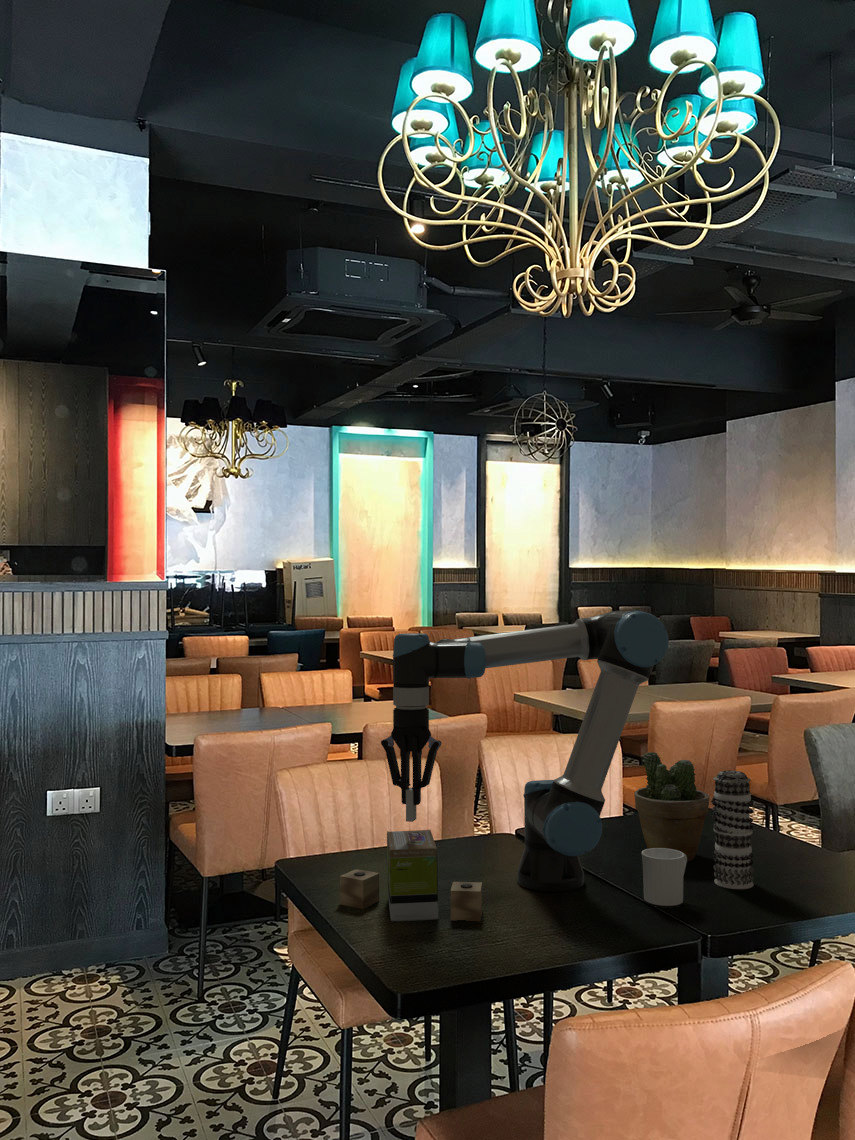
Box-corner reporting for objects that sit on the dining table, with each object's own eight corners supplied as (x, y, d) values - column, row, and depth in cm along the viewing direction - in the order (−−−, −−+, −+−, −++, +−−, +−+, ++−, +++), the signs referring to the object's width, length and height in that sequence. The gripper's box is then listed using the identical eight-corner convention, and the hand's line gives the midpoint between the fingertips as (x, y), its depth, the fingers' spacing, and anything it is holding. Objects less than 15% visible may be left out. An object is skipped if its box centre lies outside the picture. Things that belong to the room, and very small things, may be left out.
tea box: (386, 898, 203) (386, 829, 203) (432, 897, 204) (432, 828, 204) (389, 922, 188) (389, 847, 188) (439, 920, 189) (439, 846, 189)
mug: (661, 911, 193) (660, 861, 194) (633, 899, 201) (632, 851, 202) (701, 903, 198) (700, 854, 199) (672, 892, 206) (671, 844, 207)
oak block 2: (482, 911, 194) (481, 881, 194) (480, 921, 188) (480, 890, 188) (453, 910, 195) (453, 880, 195) (450, 920, 189) (450, 889, 189)
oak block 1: (379, 901, 201) (379, 872, 201) (363, 909, 196) (363, 879, 196) (356, 896, 204) (356, 868, 204) (339, 904, 199) (339, 875, 199)
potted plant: (719, 852, 238) (718, 753, 239) (698, 870, 223) (696, 764, 223) (649, 842, 248) (648, 747, 249) (624, 859, 232) (622, 758, 233)
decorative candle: (710, 887, 210) (708, 774, 210) (714, 875, 218) (712, 767, 219) (753, 891, 206) (751, 777, 207) (756, 880, 215) (754, 770, 216)
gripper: (445, 705, 199) (445, 818, 198) (387, 704, 203) (387, 814, 202) (436, 709, 192) (436, 826, 191) (375, 708, 195) (375, 822, 195)
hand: (411, 820), depth 196 cm, fingers closed
